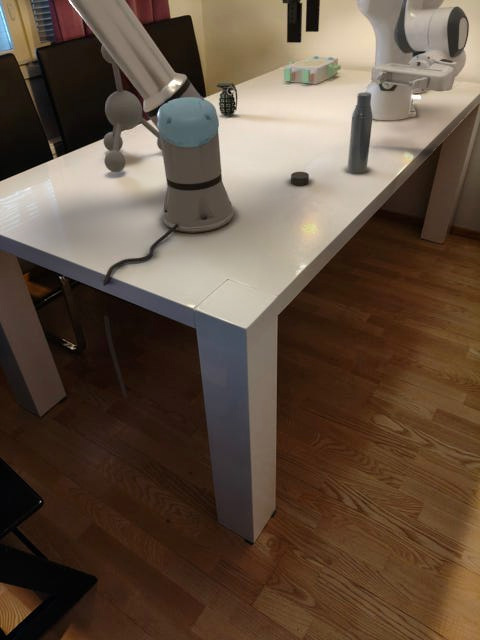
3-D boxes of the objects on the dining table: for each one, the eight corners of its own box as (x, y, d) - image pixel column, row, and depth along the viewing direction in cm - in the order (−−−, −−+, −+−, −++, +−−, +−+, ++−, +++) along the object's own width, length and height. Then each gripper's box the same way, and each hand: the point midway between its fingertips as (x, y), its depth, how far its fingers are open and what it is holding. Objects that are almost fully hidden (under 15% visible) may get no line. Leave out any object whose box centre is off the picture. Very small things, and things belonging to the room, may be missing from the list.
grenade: (217, 117, 168) (214, 86, 162) (221, 112, 172) (219, 82, 166) (235, 117, 166) (233, 86, 160) (239, 113, 171) (238, 82, 165)
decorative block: (306, 54, 217) (347, 57, 207) (305, 70, 221) (345, 73, 211) (275, 65, 201) (318, 69, 191) (275, 82, 205) (317, 87, 195)
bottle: (349, 165, 127) (356, 91, 116) (368, 167, 126) (376, 91, 115) (345, 172, 124) (352, 96, 113) (364, 174, 122) (373, 97, 111)
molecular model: (189, 163, 134) (174, 38, 115) (109, 178, 128) (80, 49, 110) (167, 139, 151) (151, 28, 133) (95, 151, 145) (69, 36, 127)
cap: (293, 186, 118) (294, 179, 117) (288, 180, 122) (288, 172, 121) (311, 184, 119) (311, 176, 118) (305, 177, 122) (305, 170, 121)
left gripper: (309, -103, 78) (304, 47, 91) (342, -97, 96) (335, 27, 109) (264, -99, 80) (266, 47, 93) (305, -94, 98) (302, 27, 111)
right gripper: (390, 54, 131) (360, 63, 124) (463, 62, 119) (434, 73, 112) (387, 80, 135) (357, 90, 128) (457, 90, 123) (429, 102, 116)
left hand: (303, 36), depth 101 cm, fingers open, 13 cm apart
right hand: (394, 82), depth 120 cm, fingers open, 8 cm apart
